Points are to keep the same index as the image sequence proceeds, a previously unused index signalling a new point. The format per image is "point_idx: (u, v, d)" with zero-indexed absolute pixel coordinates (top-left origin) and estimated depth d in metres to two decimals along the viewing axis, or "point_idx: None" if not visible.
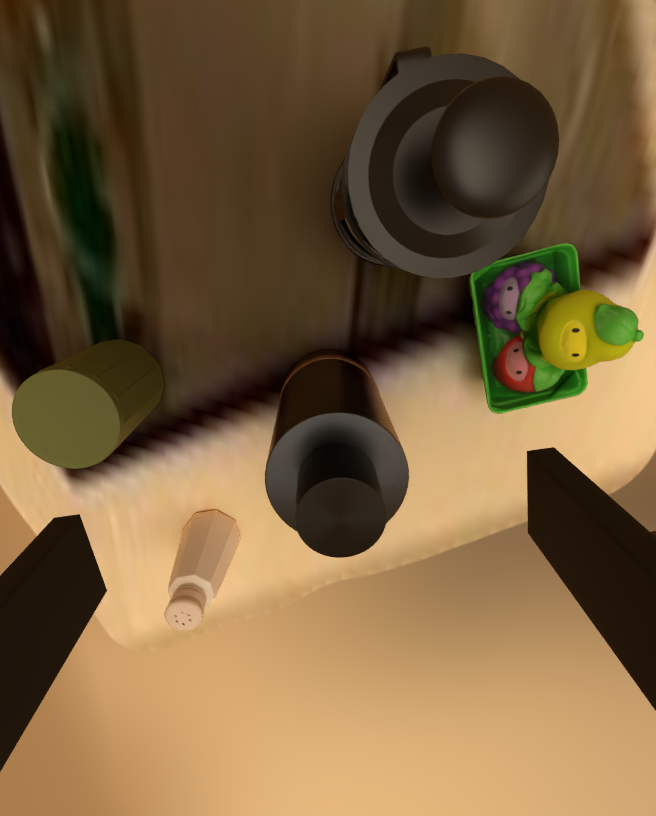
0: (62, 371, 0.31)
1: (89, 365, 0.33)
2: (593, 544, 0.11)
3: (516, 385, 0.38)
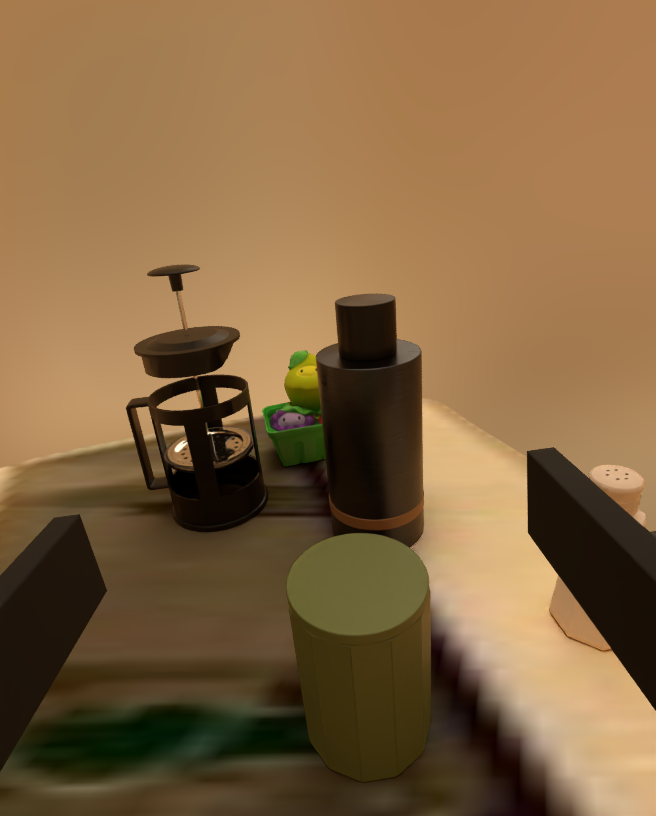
0: (289, 574, 0.24)
1: None
2: (593, 544, 0.11)
3: None
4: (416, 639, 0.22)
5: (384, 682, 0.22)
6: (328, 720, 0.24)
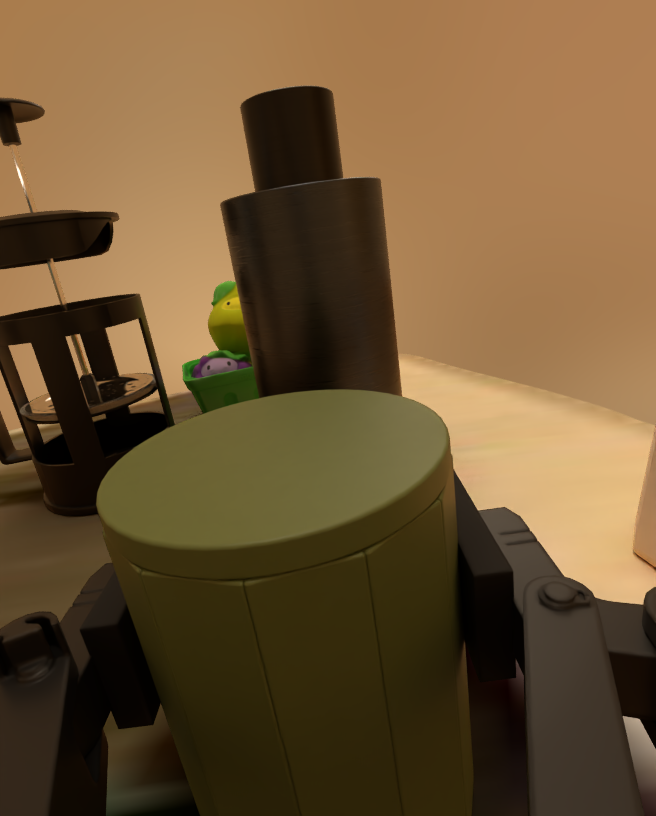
0: (119, 460, 0.10)
1: None
2: None
3: None
4: (435, 560, 0.08)
5: (361, 688, 0.08)
6: (231, 814, 0.09)
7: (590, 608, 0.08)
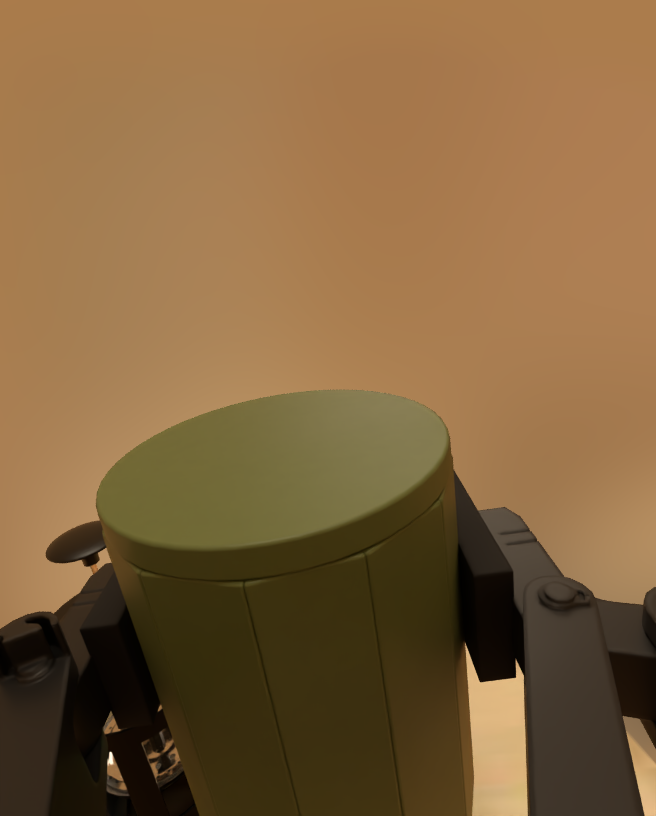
0: (119, 460, 0.10)
1: None
2: None
3: None
4: (435, 561, 0.08)
5: (361, 689, 0.08)
6: (231, 815, 0.09)
7: (590, 608, 0.08)
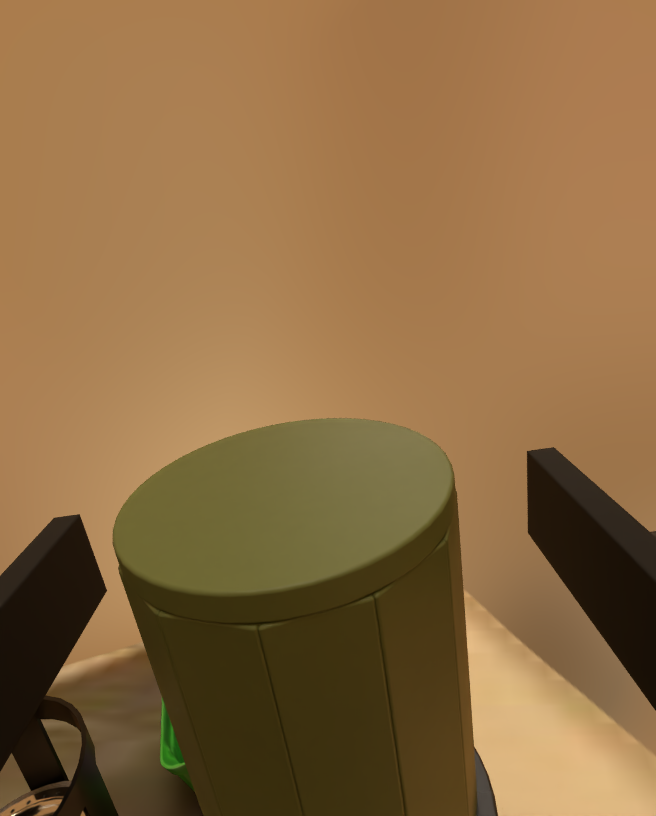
0: (133, 494, 0.11)
1: None
2: (593, 544, 0.11)
3: None
4: (440, 598, 0.09)
5: (370, 724, 0.08)
6: None
7: None
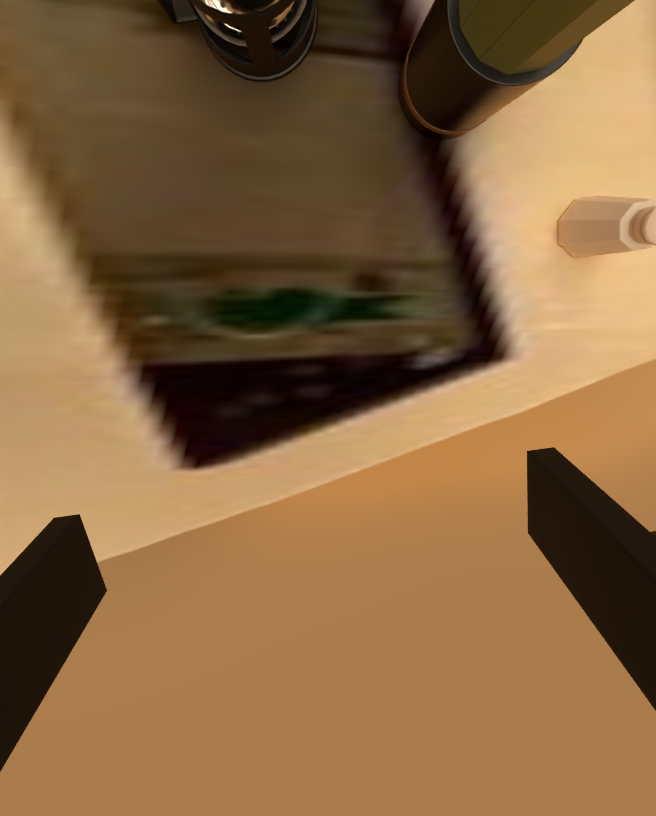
0: None
1: None
2: (593, 544, 0.11)
3: None
4: None
5: (603, 18, 0.20)
6: (510, 35, 0.23)
7: None
